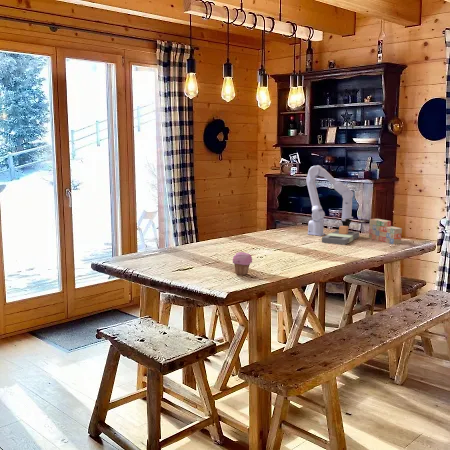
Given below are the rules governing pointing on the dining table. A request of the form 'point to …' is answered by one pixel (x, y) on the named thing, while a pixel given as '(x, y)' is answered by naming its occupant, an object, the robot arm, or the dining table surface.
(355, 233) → the trap deck
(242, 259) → the cupcake
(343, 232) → the block
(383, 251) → the dining table surface
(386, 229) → the stack of blocks
